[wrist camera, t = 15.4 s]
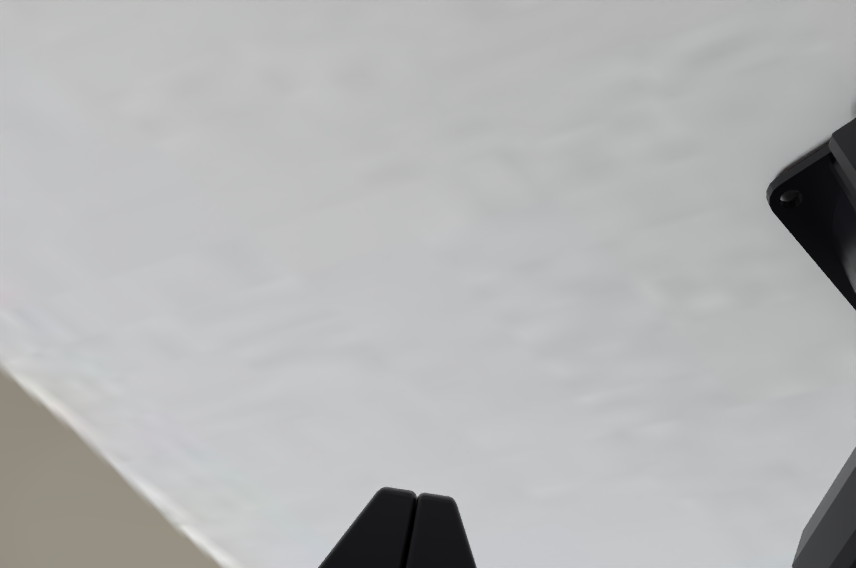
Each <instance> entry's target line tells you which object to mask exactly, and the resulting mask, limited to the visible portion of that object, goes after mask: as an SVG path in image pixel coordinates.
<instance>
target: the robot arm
mask: <svg viewBox="0 0 856 568" xmlns="http://www.w3.org/2000/svg"><path fill="white" fill-rule="evenodd" d="M789 190H797V191H799V193H798V196H797V197H796V198H795V199H794V200H791V201H788V202H787V201H781V200H780V198H781V195H782V194H783V193H784V192H786V191H789ZM766 198H767V200H768V203H769V205H770V207H771V209H772V211H773V212H774V214H775V215H776V216H777V217H778V218H779V220H780V221H781V222H782V223H783V224H784V225H785V227H786V228H787V229H788V230H789V231H790V233H791V234H792V235H793V236H794V237H795V239H796V240H797V241H798V242H799V243H800V245H801V246H802V247H803V248H804V249H805V250H806V252H807V253H808V254H809V255H810V256H811V258H812V259H813V260H814V261H815V262H816V264H817V265H818V266H819V267H820V268H821V270H822V271H823V272H824V273H825V274H826V275H827V277H828V278H829V279H830V280H831V281H832V283H833V284H834V285H835V286H836V287H837V289H838V290H839V291H840V292H841V293H842V294H843V296H844V297H845V298H846V299H847V300H848V302H849V303H850V304H851V305H852V306H853V308H854V309H855V310H856V118H855V119H854V120H852V121H850V122H849V123H847V124H846V125H844V126H843V127H841V128H840V129H838V130H837V131H835V132H834V133H833V134H832V137H831V139H830V142H829V144H828V145H826V146H825V147H823V148H822V149H820V150H819V151H817V152H816V153H814V154H812V155H811V156H809V157H808V158H806V159H805V160H803V161H802V162H800V163H799V164H797V165H796V166H794V167H793V168H791V169H789V170H788V171H786V172H785V173H783V174H782V175H780V176H779V177H777V178H776V179H775V180H774V181H773V182H772V183H770V185H769V187H768V189H767V196H766ZM792 567H793V568H856V447H855V449H854V451H853V452H852V454H851V455H850V457H849V458H848V460H847V462H846V463H845V465H844V466H843V468H842V470H841V471H840V473H839V474H838V476H837V478H836V479H835V481H834V482H833V484H832V485H831V487H830V489H829V490H828V492H827V493H826V495H825V497H824V498H823V500H822V501H821V503H820V505H819V506H818V508H817V509H816V511H815V512H814V514H813V516H812V517H811V519H810V520H809V522H808V524H807V525H806V527H805V528H804V530H803V533H802V536H801V539H800V542H799V545H798V548H797V552H796V555H795V558H794V561H793V564H792ZM318 568H477V567H476V564H475V561H474V558H473V555H472V551H471V548H470V545H469V542H468V539H467V535H466V532H465V529H464V526H463V523H462V519H461V516H460V513H459V510H458V507H457V504H456V502H455V500H454V499H453V498H451V497H449V496H442V495H436V494H429V493H422V494H420V495H419V496H418V498H417V496H416V494H415V493H414V492H413V491H410V490H403V489H397V488H390V487H383V488H381V489H380V490H379V491H378V492H377V493H376V494H375V495H374V496H373V498H372V499H371V500H370V502H369V503H368V504H367V505H366V507H365V508H364V509H363V511H362V512H361V513H360V514H359V516H358V517H357V518H356V520H355V521H354V522H353V523H352V525H351V526H350V527H349V529H348V530H347V531H346V532H345V534H344V535H343V536H342V538H341V539H340V540H339V541H338V543H337V544H336V545H335V547H334V548H333V549H332V550H331V552H330V553H329V554H328V556H327V557H326V558H325V560H324V561H323V562H322V563H321V565H320V566H319V567H318Z"/></svg>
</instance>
